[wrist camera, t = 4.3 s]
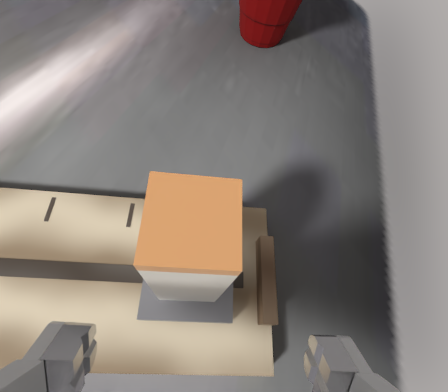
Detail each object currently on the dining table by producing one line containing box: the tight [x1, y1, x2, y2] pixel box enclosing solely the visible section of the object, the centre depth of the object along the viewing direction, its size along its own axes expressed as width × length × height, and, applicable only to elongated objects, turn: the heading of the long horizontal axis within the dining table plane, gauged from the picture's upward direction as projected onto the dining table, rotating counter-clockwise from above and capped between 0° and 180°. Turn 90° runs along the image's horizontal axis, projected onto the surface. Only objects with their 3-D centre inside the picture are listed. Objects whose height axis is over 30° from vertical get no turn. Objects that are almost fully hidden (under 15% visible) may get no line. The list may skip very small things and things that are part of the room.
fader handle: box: [133, 171, 242, 324], centre depth 15 cm, size 6×6×11 cm
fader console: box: [0, 188, 278, 376], centre depth 19 cm, size 12×28×4 cm, turn 88°
